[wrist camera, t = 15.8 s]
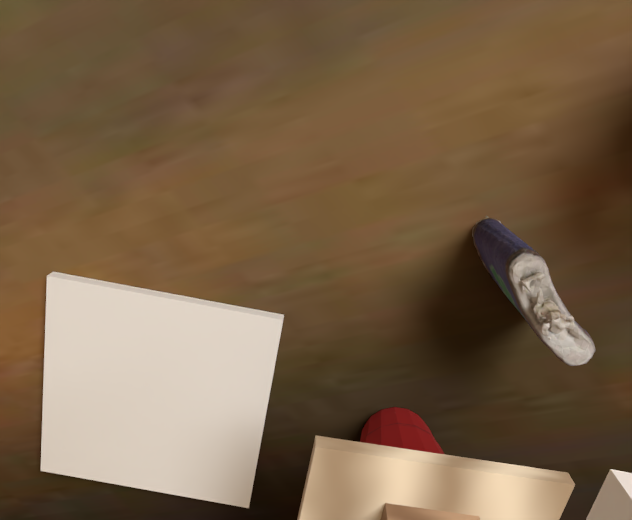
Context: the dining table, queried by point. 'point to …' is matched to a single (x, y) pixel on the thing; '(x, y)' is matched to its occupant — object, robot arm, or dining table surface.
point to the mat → (155, 388)
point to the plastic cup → (399, 431)
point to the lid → (424, 486)
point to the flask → (531, 291)
